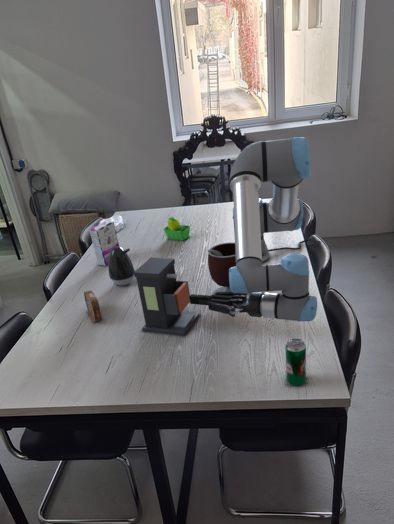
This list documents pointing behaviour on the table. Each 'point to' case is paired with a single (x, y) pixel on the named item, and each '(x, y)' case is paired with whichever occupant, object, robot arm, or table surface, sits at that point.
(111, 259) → the pump dispenser
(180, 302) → the push plate
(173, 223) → the fruit basket
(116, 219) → the knuckle duster
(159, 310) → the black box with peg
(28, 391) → the table surface
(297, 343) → the soda can
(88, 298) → the tin
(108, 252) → the candy bar box
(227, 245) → the mate gourd
